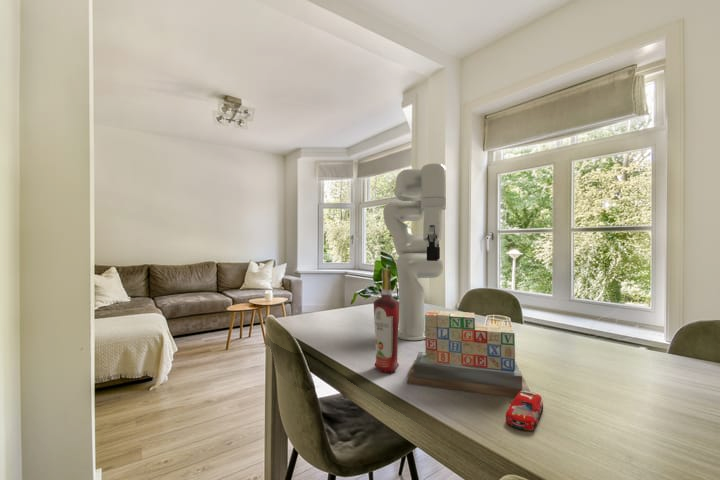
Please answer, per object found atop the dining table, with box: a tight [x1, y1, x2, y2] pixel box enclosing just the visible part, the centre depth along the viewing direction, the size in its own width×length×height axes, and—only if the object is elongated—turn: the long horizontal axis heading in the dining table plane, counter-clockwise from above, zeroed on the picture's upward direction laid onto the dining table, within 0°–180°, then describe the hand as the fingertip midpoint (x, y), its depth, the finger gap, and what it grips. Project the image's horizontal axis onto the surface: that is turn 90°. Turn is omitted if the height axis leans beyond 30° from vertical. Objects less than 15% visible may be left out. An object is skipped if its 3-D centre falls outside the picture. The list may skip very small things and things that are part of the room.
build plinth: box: [406, 351, 531, 399], centre depth 83 cm, size 13×28×5 cm, turn 73°
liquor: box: [373, 268, 400, 374], centre depth 91 cm, size 7×7×28 cm
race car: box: [505, 391, 544, 432], centre depth 66 cm, size 13×5×4 cm, turn 140°
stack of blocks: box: [424, 309, 516, 371], centre depth 83 cm, size 21×6×12 cm, turn 69°
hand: (433, 259), depth 100 cm, fingers open, 9 cm apart
